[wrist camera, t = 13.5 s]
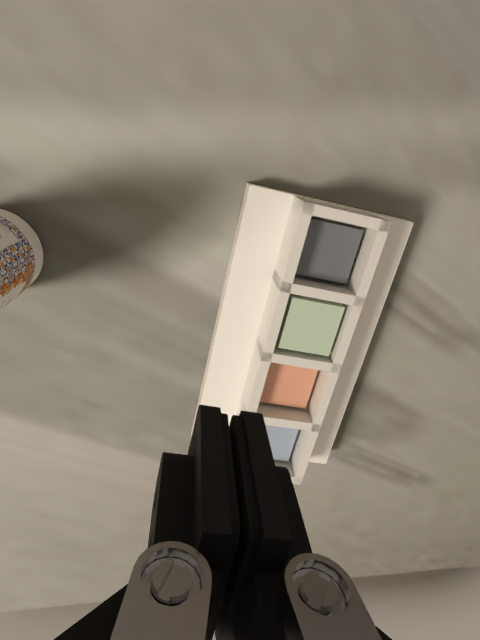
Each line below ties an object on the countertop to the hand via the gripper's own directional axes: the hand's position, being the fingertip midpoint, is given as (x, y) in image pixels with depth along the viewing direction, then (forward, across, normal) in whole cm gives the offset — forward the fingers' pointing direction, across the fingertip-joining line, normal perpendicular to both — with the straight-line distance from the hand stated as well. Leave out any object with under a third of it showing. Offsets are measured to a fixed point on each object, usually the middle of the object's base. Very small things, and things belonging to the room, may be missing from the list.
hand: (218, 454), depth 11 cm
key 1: (+25, -9, -2) cm, 27 cm away
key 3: (+25, -10, +10) cm, 28 cm away
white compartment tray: (+27, -10, +7) cm, 30 cm away
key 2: (+24, -9, +4) cm, 26 cm away
